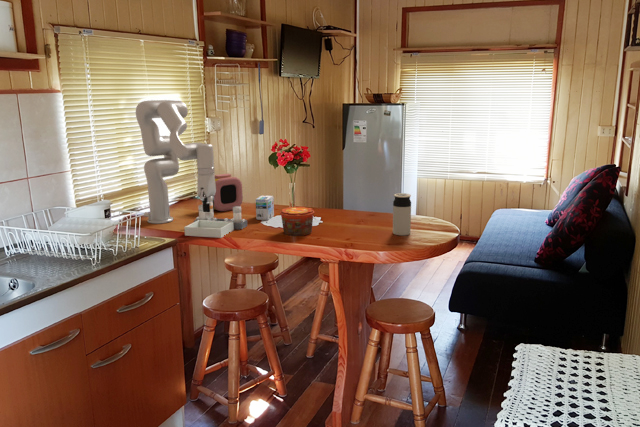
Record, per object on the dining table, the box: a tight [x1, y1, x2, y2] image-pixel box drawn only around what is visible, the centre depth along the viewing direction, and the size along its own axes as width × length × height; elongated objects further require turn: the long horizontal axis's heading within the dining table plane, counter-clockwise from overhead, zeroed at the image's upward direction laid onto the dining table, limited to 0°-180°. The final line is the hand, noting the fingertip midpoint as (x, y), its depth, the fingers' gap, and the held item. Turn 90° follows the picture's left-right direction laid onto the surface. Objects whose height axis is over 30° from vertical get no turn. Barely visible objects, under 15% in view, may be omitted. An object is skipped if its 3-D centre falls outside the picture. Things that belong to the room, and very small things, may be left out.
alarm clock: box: [204, 173, 244, 213], centre depth 299 cm, size 18×11×19 cm, turn 132°
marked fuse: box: [204, 195, 215, 218], centre depth 249 cm, size 4×4×10 cm
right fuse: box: [232, 206, 243, 223], centre depth 260 cm, size 4×4×10 cm
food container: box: [279, 206, 315, 237], centre depth 250 cm, size 16×16×11 cm
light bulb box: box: [255, 195, 275, 221], centre depth 279 cm, size 11×7×11 cm, turn 168°
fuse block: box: [193, 216, 248, 230], centre depth 263 cm, size 25×7×4 cm, turn 76°
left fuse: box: [197, 204, 207, 220], centre depth 265 cm, size 4×4×10 cm
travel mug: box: [392, 192, 412, 236], centre depth 245 cm, size 8×8×18 cm
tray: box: [183, 220, 235, 239], centre depth 252 cm, size 18×14×4 cm
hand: (208, 210), depth 250 cm, fingers closed on marked fuse, 3 cm apart
